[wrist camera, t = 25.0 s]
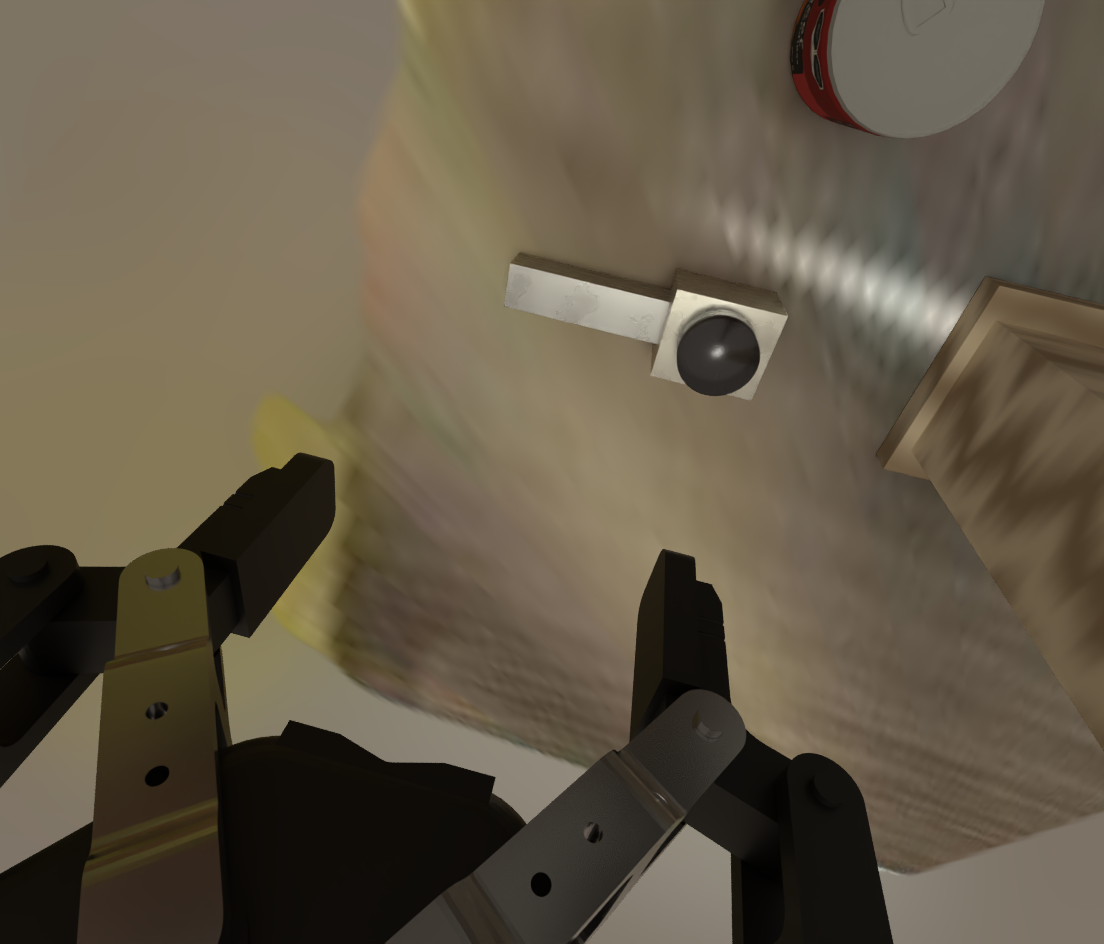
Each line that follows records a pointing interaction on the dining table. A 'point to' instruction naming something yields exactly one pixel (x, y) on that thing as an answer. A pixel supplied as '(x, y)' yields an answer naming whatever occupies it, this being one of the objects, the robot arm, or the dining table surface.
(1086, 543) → the stand
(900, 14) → the canned food
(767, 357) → the grey elongated piece
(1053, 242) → the dining table surface
